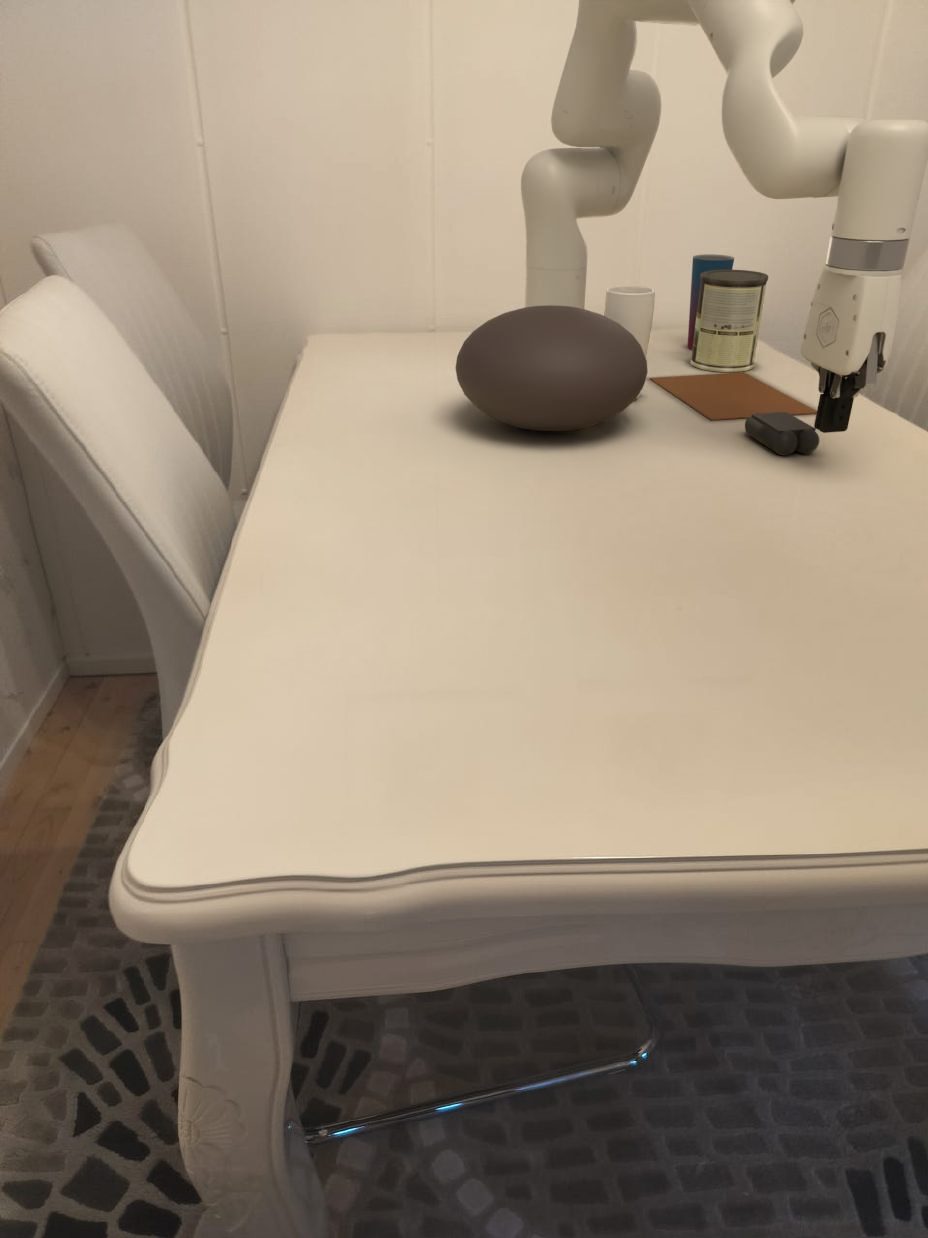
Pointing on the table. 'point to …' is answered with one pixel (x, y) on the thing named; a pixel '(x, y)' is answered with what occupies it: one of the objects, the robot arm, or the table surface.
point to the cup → (699, 266)
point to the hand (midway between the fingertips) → (830, 429)
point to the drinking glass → (632, 311)
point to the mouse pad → (730, 395)
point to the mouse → (782, 432)
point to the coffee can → (728, 320)
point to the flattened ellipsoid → (551, 368)
